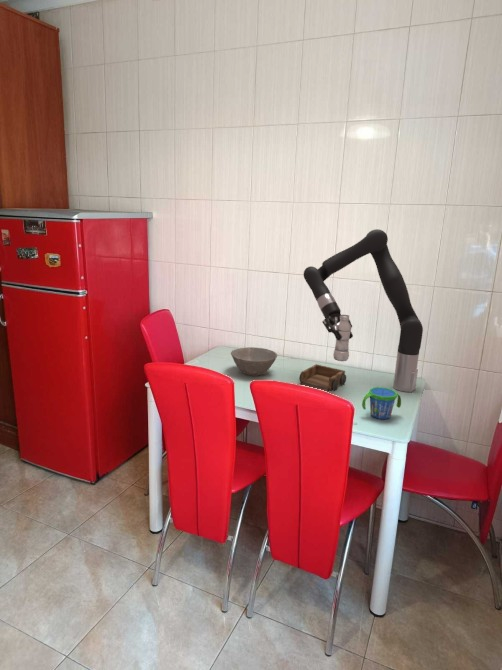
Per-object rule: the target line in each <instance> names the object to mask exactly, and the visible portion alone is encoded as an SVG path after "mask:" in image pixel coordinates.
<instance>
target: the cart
mask: <svg viewBox="0 0 502 670" xmlns="http://www.w3.org/2000/svg"><path fill="white" fill-rule="evenodd" d="M298 381H299V382H300V385H305V386H309V387H313V388H317V389H321V390H324V391H327V392H326V393H328V392H329V391H331V392H333V391H334V392H335V390H336V391H337V390H338V388H339V387H340V386H345V384H346V382H347V375H346V370H343V369H338V368H334V367H330V366H327V365H321V364H317V363H316V364H314V365H312V366H310V367H307V368H306V369H304V370H301V372H300V375H299V379H298ZM332 390H333V391H332Z"/></svg>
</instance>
